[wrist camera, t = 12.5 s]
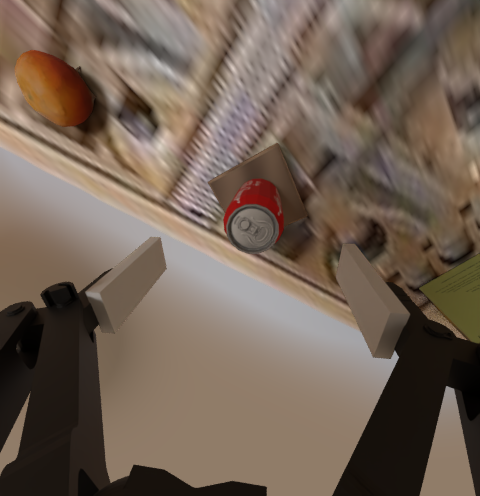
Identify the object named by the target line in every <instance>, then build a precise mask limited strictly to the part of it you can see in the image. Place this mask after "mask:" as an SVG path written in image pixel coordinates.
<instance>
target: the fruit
mask: <svg viewBox="0 0 480 496" xmlns="http://www.w3.org/2000/svg"><path fill="white" fill-rule="evenodd" d="M79 68H80V66H79V67H78V68H77V69H74V68H73V67H71V66H70V65H68V64H67V63H65V62H64V61H63V60H61V59H59V58H57V57H55V56H53V55H50V54H47V53H44V52H40V51H36V50H30V51H28V52H25V53H23V54H22V55H21V56H20V57H19V58H18V59H17V63H16V67H15V75H16V78H17V83H18V85H19V86H20V88H21V91H22V93H23V95H24V97H25V99H26V101H27V102H28V103H29V104H30V105H31V106H32V107H33V109H34V110H35V111H37V112H38V113H40V114H41V115H43V116H44V117H46V118H47V119H49V120H50V121H52V122H54V123H55V124H57V125H60V126H62V127H67V126H76V125H78V124H80V123H82V122H84V121H85V120H86V119H87V118H88V117H89V115H90V114H91V113H92V112H93V105H94V99H95V97H96V96H95V95H93V94H92V92H91V91H90V90H89V88H88V87H87V85H86V84H85V82H84V81H83V79H82V78H81V77H80V75H79V72H78V70H79Z"/></svg>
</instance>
